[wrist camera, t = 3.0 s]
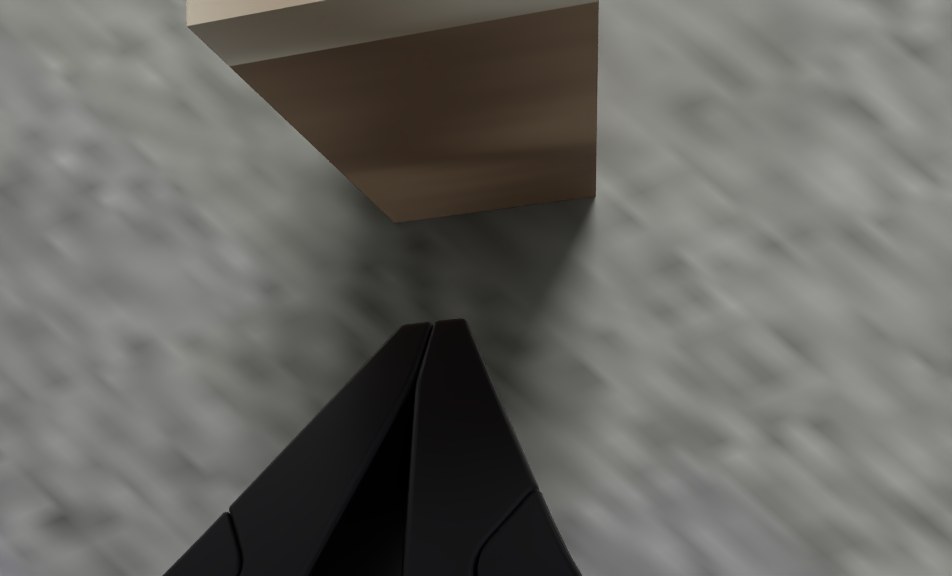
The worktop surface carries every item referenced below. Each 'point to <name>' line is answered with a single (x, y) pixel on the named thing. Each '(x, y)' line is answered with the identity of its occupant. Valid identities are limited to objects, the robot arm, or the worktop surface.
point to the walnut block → (427, 93)
